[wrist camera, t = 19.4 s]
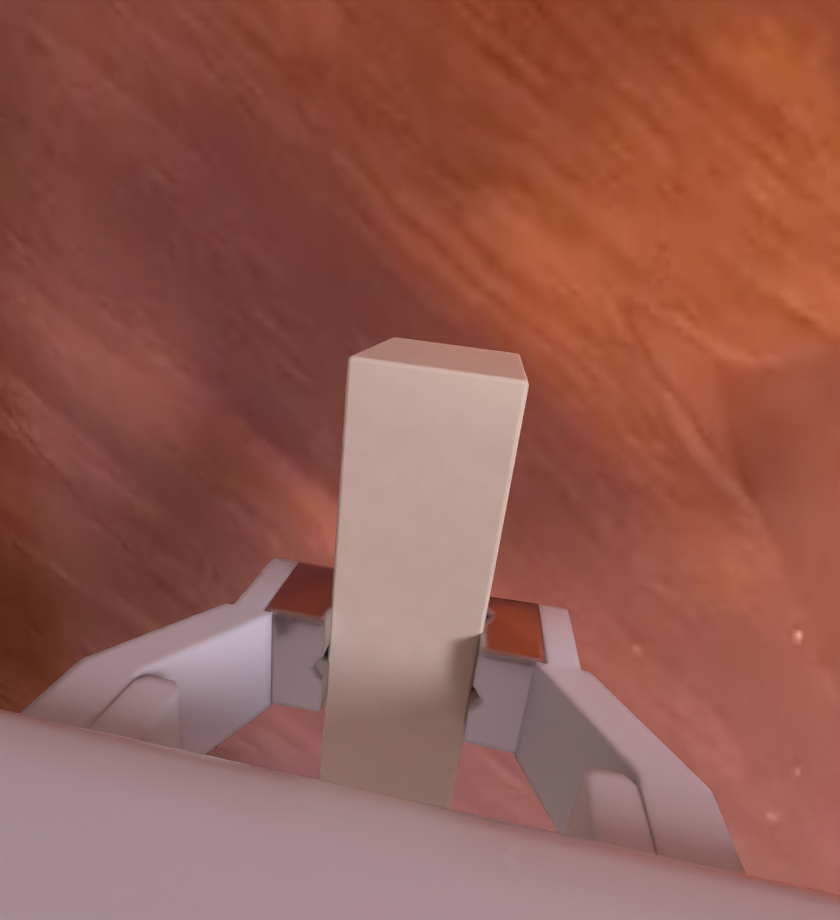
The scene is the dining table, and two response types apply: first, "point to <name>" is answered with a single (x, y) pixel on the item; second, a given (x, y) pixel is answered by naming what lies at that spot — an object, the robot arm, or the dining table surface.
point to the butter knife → (415, 558)
